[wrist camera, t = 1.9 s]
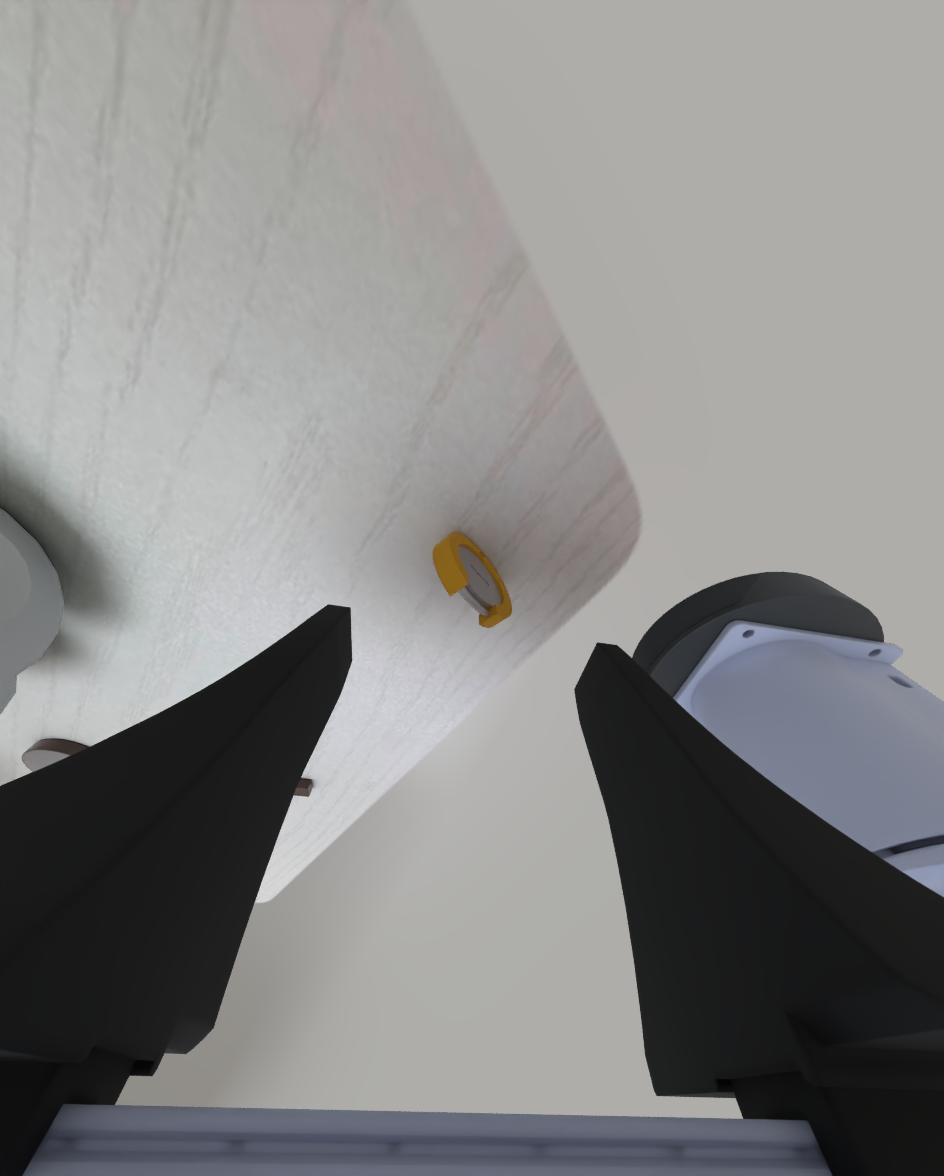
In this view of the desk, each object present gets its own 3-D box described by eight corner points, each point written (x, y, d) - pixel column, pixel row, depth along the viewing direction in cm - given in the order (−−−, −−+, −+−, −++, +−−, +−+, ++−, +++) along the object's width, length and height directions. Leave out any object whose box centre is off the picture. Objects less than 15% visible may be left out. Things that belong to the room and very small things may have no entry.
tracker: (508, 581, 16) (515, 634, 13) (494, 590, 16) (498, 644, 13) (452, 518, 14) (445, 560, 11) (438, 529, 14) (427, 573, 11)
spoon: (309, 765, 24) (304, 776, 24) (314, 799, 27) (310, 810, 26) (19, 734, 23) (5, 745, 22) (55, 774, 26) (43, 785, 25)
